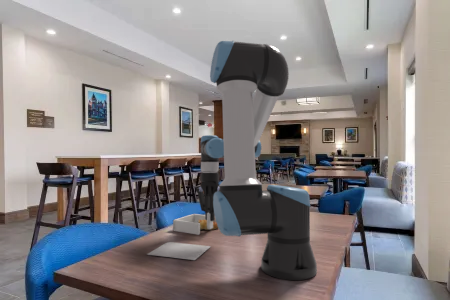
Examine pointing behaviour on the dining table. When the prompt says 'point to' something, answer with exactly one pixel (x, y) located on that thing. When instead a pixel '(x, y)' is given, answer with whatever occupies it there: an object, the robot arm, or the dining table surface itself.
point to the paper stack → (180, 250)
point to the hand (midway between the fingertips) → (210, 228)
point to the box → (189, 224)
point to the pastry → (204, 225)
